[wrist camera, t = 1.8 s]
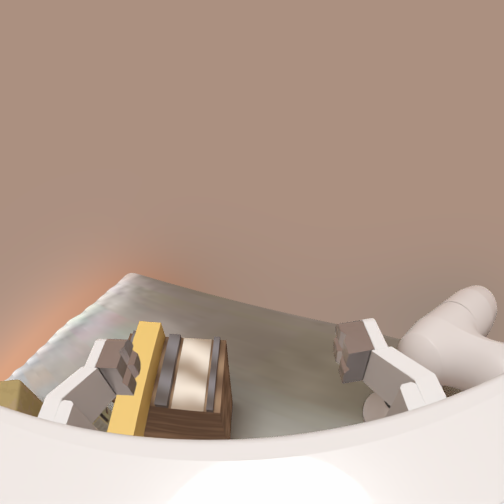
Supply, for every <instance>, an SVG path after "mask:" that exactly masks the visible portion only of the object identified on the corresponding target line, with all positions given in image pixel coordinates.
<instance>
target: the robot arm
mask: <svg viewBox="0 0 504 504" xmlns="http://www.w3.org/2000/svg"><path fill="white" fill-rule="evenodd" d="M496 315H497V304H496V300H495V298H494V296H493V295H492V293H491V292H490V291H489V290H488V289H486V288H485V287H483V286H479V285H476V286H475V285H474V286H471V287H467V288H464V289H462V290H459V291H458V292H456V293H455V294H453V295H452V296H451V297H449V298H448V299H447V300H445V301H444V302H443V303H441V304H440V305H439V306H437V308H435V309H434V310H432V311H431V312H429V313H428V314H427V315H425V316H424V317H422V318H421V319H420V320H418V321H417V322H416V323H415V324H414V325H413V326H412V327H411V328H410V330H409V331H408V332H407V333H406V334H405V335H404V336H403V338H402V339H401V340H400V342H399V345H398V350H396V349H395V348H393V347H388V346H387V344H386V342H385V339H384V337H383V335H382V333H381V331H380V329H379V327H378V325H377V323H376V321H375V319H373V318H370V319H364V320H359V321H353V322H347V323H340V324H337V325H336V327H335V333H336V336H337V337H336V338H335V339H334V344H333V348H334V356H335V360H336V362H337V363H339V364H340V365H339V374H340V377H341V380H342V383H349V382H355V381H361V380H363V382H364V383H365V384H367V385H368V386H369V387H370V388H371V389H372V390H373V391H374V392H373V393H372V394H371V395H370V396H369V397H368V398H367V399H366V401H365V403H364V407H363V417H364V420H365V422H364V423H359V424H355V425H350V426H345V427H340V428H334V429H329V430H323V431H317V432H310V433H303V434H295V435H286V436H277V437H266V438H251V439H228V440H190V439H167V438H153V437H142V436H132V435H124V434H116V433H109V432H103V431H99V430H98V429H97V428H96V427H95V426H94V425H93V424H92V423H93V422H94V421H95V420H96V419H97V417H98V416H99V415H100V414H101V413H102V412H103V411H104V409H105V408H106V407H107V406H108V405H109V404H110V403H111V401H112V400H113V399H114V398H115V397H116V395H132V396H134V393H135V389H136V385H137V382H136V380H135V378H136V377H137V376H138V375H139V374H140V370H141V362H140V358H139V355H138V353H136V352H135V351H134V350H133V347H134V346H133V344H132V342H131V340H121V339H98V340H96V341H95V343H94V346H93V348H92V350H91V352H90V355H89V357H88V359H87V362H86V364H85V366H84V367H81V368H80V369H78V370H77V371H76V372H75V373H73V374H72V375H71V376H70V377H68V378H67V379H66V380H65V381H64V382H62V383H61V384H60V385H59V386H57V387H56V388H55V389H54V390H53V391H51V392H50V393H49V394H48V395H47V396H46V398H45V400H44V403H43V405H42V407H41V410H40V412H39V415H38V417H35V416H31V415H28V414H24V413H21V412H18V411H15V410H12V409H9V408H6V407H3V406H0V504H504V342H498V341H495V340H492V339H489V338H487V337H486V336H487V335H488V333H489V332H490V330H491V328H492V326H493V323H494V321H495V318H496ZM443 386H449V387H453V388H457V389H460V390H462V391H463V392H460V393H458V394H455V395H453V396H450V397H448V398H446V395H445V393H444V391H443V389H442V387H443Z"/></svg>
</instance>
